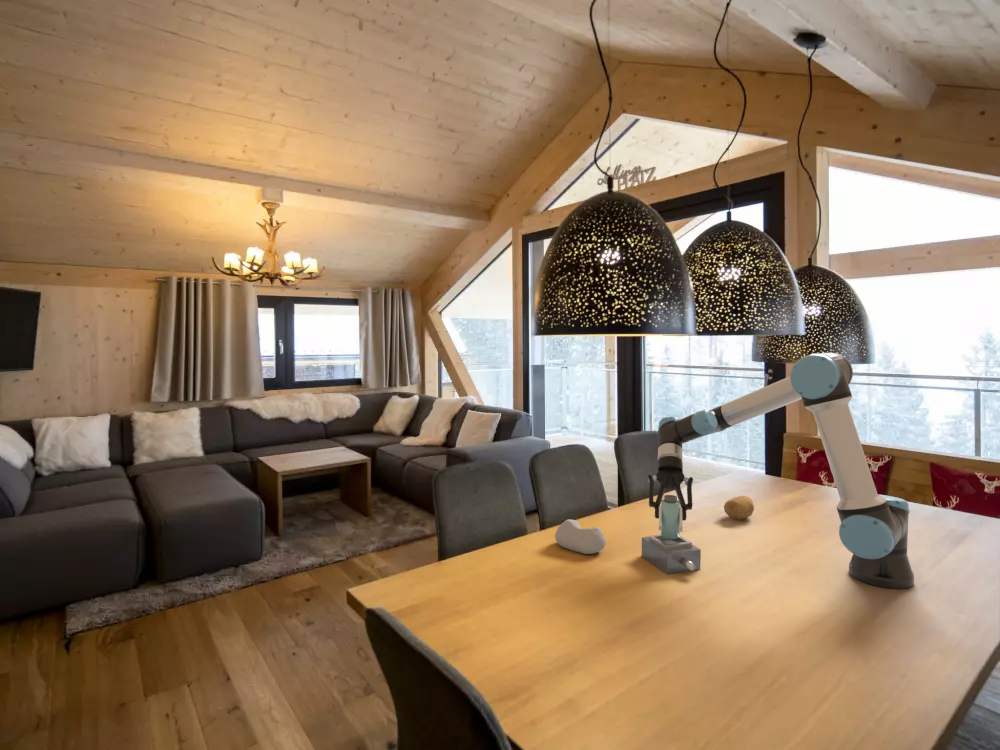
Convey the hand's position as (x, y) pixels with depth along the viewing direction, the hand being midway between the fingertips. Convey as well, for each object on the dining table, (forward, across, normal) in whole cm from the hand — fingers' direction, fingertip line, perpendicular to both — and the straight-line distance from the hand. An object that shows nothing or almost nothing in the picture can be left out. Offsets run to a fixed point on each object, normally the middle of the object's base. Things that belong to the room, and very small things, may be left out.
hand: (670, 528), depth 167 cm
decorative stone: (+2, +27, -15) cm, 31 cm away
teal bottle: (0, 0, -5) cm, 5 cm away
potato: (-29, -26, -46) cm, 60 cm away
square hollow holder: (+6, 0, -11) cm, 12 cm away
